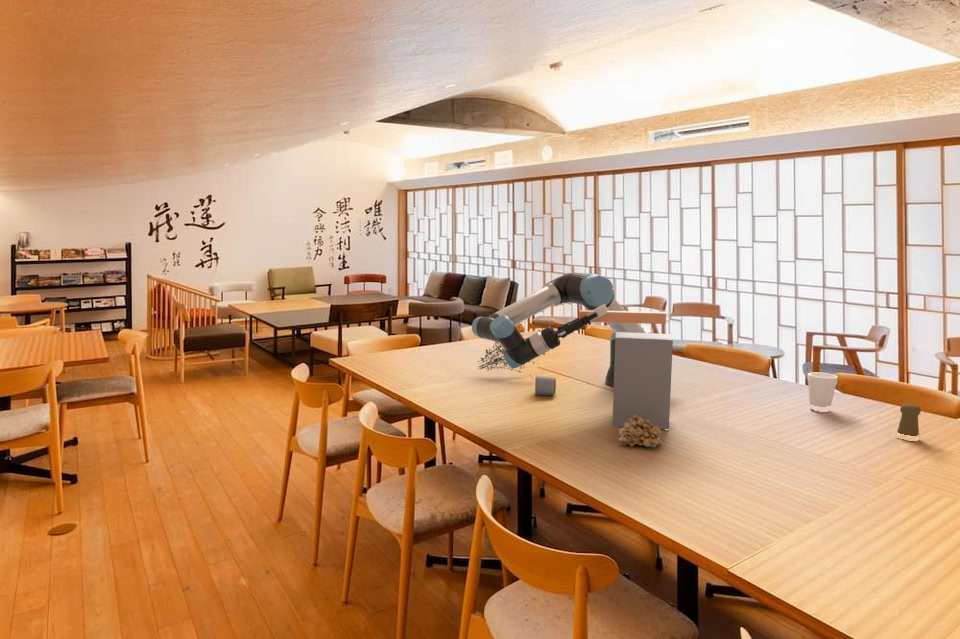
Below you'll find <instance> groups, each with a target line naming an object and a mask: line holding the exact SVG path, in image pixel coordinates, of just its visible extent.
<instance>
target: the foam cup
mask: <svg viewBox="0 0 960 639" xmlns="http://www.w3.org/2000/svg"><path fill="white" fill-rule="evenodd" d="M807 384H808V385H807V386H808V396H809V398H808V399H809V405H810V404H811V405H814V406H819V407H826V406H831V407H832V403H833V399H834V394H835V389H836V386H837V384H838V375H836V374H833V373H832V374H831V373H827V372H818V371H817V372H815V371H813V372H808V373H807Z"/></svg>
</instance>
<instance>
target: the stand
mask: <svg viewBox="0 0 960 639" xmlns="http://www.w3.org/2000/svg"><path fill="white" fill-rule="evenodd" d="M673 342H674V340H673V337H672V334H671V333H653V332H652V333H629V332H616V336H615V363H614V386H613V395H612V396H613V398H612V399H613V401H612V427H614V426H617V428H622V427H623V426H624V423H625V422H626V421H629V418H631V417H632V416H633V415H637V416H638V417H641V418H642V419H643V420H644V419H645V420H647V419H648V420H649V421H650V422H651V424H652V425H654V426H658V427H659V428H660V429H669V430H670V414H671V413H670V412H671V409H670V408H671V392H672V391H671V390H672V389H671V388H672V367H673V363H672V362H673V348H674V347H673V344H674V343H673Z"/></svg>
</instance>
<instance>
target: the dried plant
mask: <svg viewBox="0 0 960 639" xmlns="http://www.w3.org/2000/svg"><path fill="white" fill-rule="evenodd" d="M523 323H524V321H522V322H520V323H518V327H517V329H519V328H521V326H522V324H523ZM542 326H543V325H541V326H540V327H541V328H540V329H541V330H540V329H538V328H536V329H537V332H541V331H542V330H543V329H544V327H542ZM530 327H531V325H529V326H528V329H527V330H529V328H530ZM527 330H526V331H527ZM524 334H525V332H524V331H523V333H522V334H521V335H522V336H523V335H524ZM494 342H495V341H494ZM488 349H489V350H488ZM488 349H487V348H486V349H485V355H484V356H485V357H480V360H477V363H476V364H479V366H478V368H479V369H480V370H482V369H486V370H487V372H489V370H492V369H494V370H495V368H496V369H497V370H499V371H500V369H501V370H503V369H506V368H507V369H508V370H510V371H512V372H513V371H515V372H518V373H522V374H523V373H524V374H525V372H524V371H520V370H521V369H525V366H519V367H518V368H519V370H518V369H514V368H511V367H508V364H507V362H506V361H505V359H504V356H503V352H504V350H505V348H504V347H503V346H502V345H501V343H499V342H495V343H494V344H493V345H492V349H491V348H488ZM481 361H482V362H481ZM531 362H532V365H534V363H535V364H536V362H535V361H532V360H531V361H530V363H531ZM482 363H484V364H482ZM502 364H503V365H502ZM538 366H539V364H537V367H538ZM522 367H523V368H522ZM527 375H528V376H530V378H532V379H535V380H536V377H535V378H534V377H533V376H532V375H530V374H527Z"/></svg>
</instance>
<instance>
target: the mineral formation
mask: <svg viewBox="0 0 960 639" xmlns="http://www.w3.org/2000/svg"><path fill="white" fill-rule="evenodd" d="M618 434H619V436H621V437H619V438H618V441H619V442H620V446H627V445H628V446H630V447H635V445H638V446H644V447H646V448H652V447H653V448H652V449H656V447H657V446H658V445H659V446H663V445H664V441H663V439H661V438H660V437H661V436H660V435H661V434H662V430H660V428H659V427H658V426H654V425H652V424H651V422H650V421H649V420H648V419H647V420H645V419H644V420H643V419H642V418H641V417H638V416H637V415H633V416H632V417H631V418H629V421H626V422H625V423H624V426H623V427H620V428H619V433H618Z"/></svg>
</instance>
